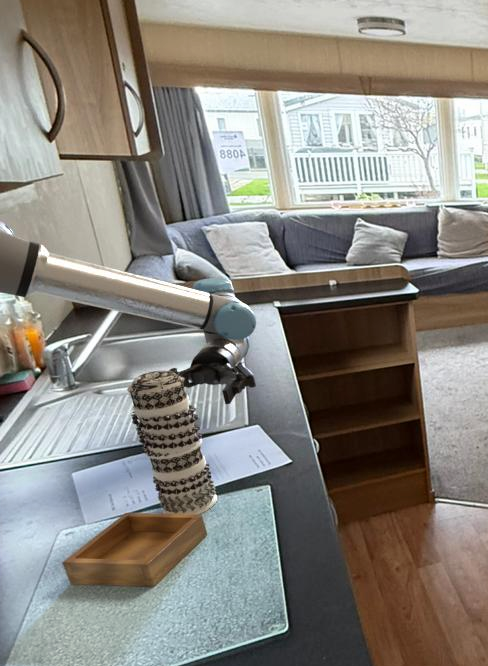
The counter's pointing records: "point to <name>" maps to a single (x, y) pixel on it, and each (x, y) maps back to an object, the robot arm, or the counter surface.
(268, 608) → the counter surface
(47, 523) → the counter surface
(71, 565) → the tray
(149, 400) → the decorative candle
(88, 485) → the counter surface
